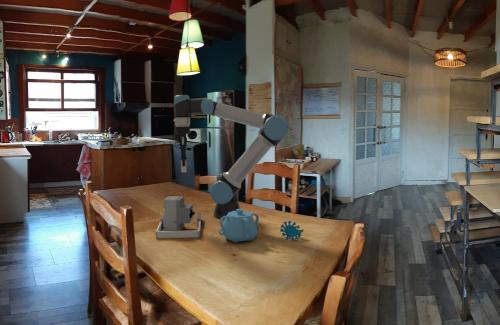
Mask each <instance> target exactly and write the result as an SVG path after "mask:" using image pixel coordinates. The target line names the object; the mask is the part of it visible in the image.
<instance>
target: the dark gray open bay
mask: <svg viewBox="0 0 500 325" xmlns="http://www.w3.org/2000/svg"><path fill="white" fill-rule="evenodd" d="M196 219H197V220H196V221H197V222H196V226H197V228H198V225H199V221H201V222H202V212H201V211H198V212H197V218H196ZM164 220H165V212H163V213H162V215H161V216H160V220H159V222H160V221H162V228H164V227H163V221H164Z"/></svg>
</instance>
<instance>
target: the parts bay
mask: <svg viewBox="0 0 500 325" xmlns="http://www.w3.org/2000/svg"><path fill="white" fill-rule="evenodd" d="M201 225H202V220H201V221H199V225H198V227H197V230H196V229H194V230H180V231H172V230H162V228H163V227H162V221H160V220H159V224H158V226H157V228H156V230H155V239H177V238H178V239H179V238H180V239H181V238H182V239H183V238H184V239H186V238H201Z"/></svg>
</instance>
